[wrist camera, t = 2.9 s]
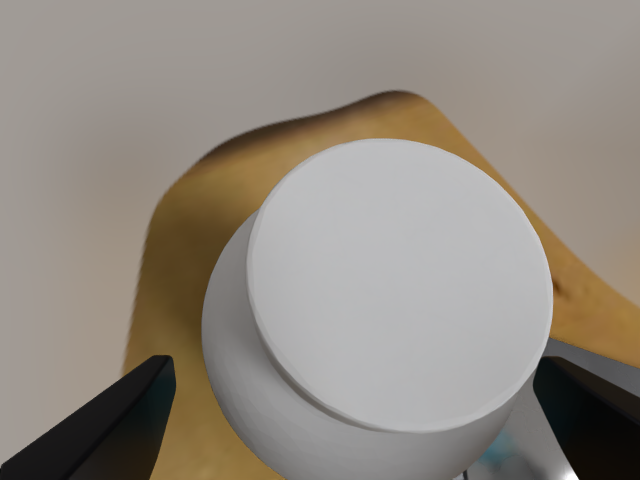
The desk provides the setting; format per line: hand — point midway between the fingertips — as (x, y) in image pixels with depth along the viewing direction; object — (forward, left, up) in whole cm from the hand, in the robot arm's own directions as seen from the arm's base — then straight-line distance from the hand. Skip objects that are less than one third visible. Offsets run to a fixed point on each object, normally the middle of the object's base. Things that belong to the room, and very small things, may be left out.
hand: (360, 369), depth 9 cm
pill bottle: (+1, 0, -9) cm, 9 cm away
